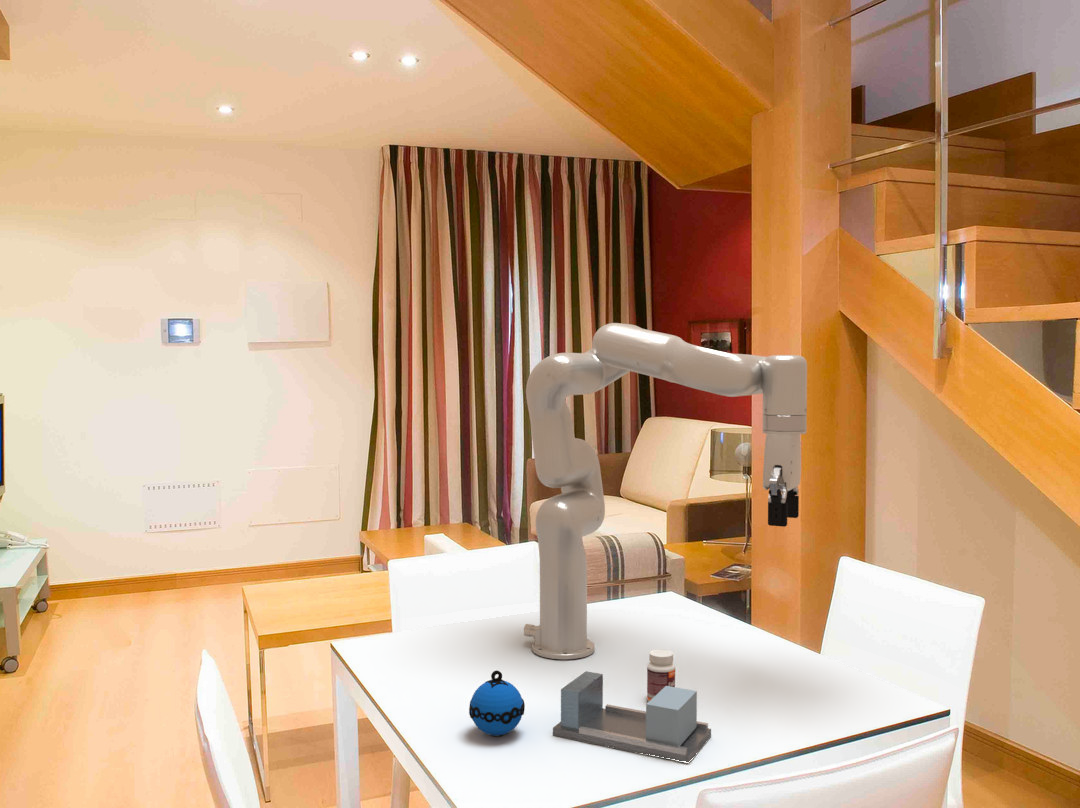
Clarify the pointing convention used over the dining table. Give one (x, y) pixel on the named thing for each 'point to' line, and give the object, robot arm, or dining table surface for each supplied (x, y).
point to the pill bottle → (659, 672)
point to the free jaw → (671, 715)
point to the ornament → (496, 706)
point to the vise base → (615, 723)
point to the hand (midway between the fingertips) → (783, 521)
